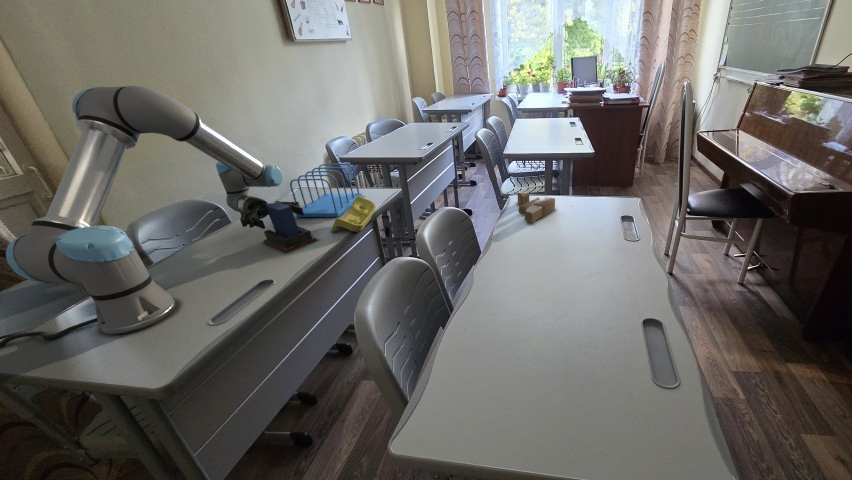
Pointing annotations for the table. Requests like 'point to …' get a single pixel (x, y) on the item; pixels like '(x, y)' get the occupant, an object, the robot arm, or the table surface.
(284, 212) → the navy blue rectangular block
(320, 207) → the file sorter
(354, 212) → the plastic component
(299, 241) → the dark brown block holder
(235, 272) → the table surface
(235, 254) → the table surface
